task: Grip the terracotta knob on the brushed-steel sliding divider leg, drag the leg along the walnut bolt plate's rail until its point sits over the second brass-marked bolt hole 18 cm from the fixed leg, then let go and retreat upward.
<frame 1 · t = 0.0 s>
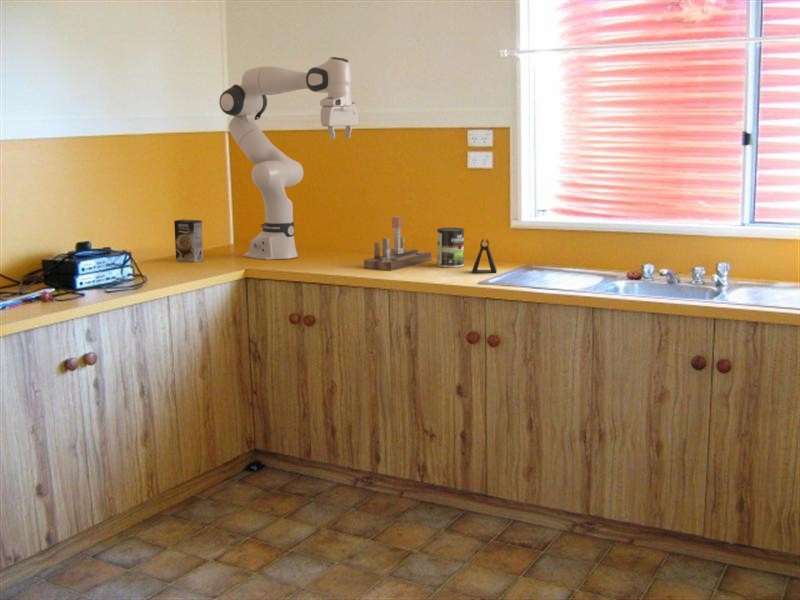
hand: (340, 138, 374), 48 cm above the worktop, fingers open, 8 cm apart
black clip stand: (484, 272, 362), on the worktop
coffee box: (189, 261, 391), on the worktop
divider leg: (397, 235, 378), point 11 cm above the worktop, slide at 0.0 cm
coffee can: (450, 266, 377), on the worktop
bolt plate: (398, 263, 381), on the worktop
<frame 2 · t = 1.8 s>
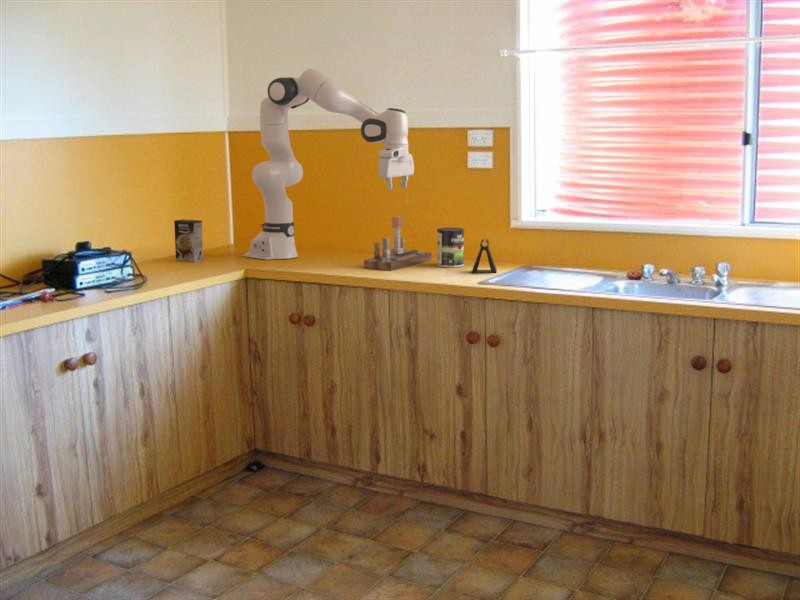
hand: (397, 188, 374), 29 cm above the worktop, fingers open, 8 cm apart
nothing on the worktop moved.
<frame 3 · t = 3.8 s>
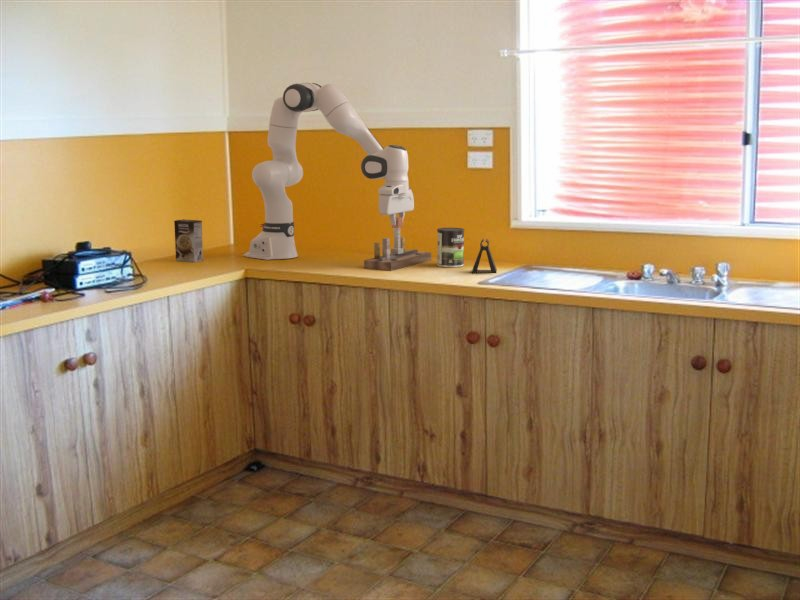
hand: (397, 224, 377), 15 cm above the worktop, fingers closed on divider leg, 3 cm apart
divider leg: (397, 235, 378), point 11 cm above the worktop, slide at 0.0 cm, touching gripper
everything else where it was.
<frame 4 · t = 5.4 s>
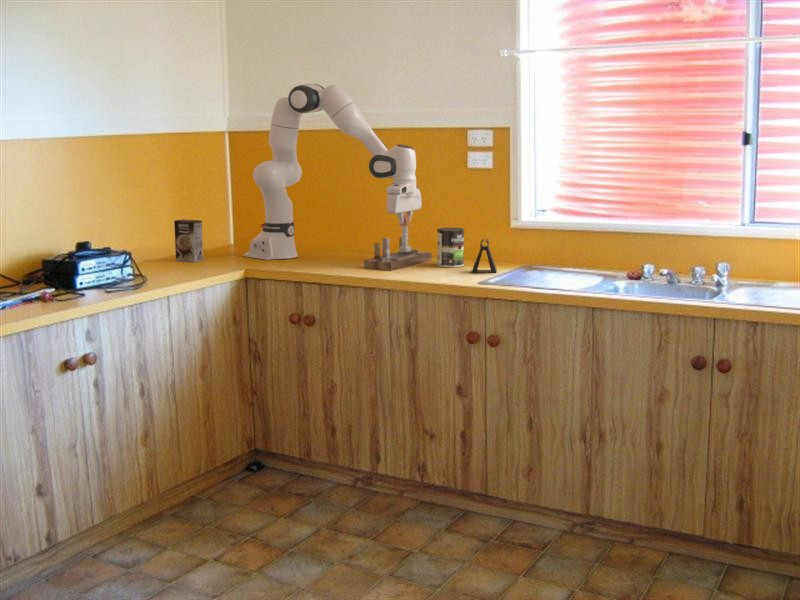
hand: (404, 223, 382), 15 cm above the worktop, fingers closed on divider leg, 3 cm apart
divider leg: (404, 233, 382), point 11 cm above the worktop, slide at 5.7 cm, touching gripper
everything else where it was.
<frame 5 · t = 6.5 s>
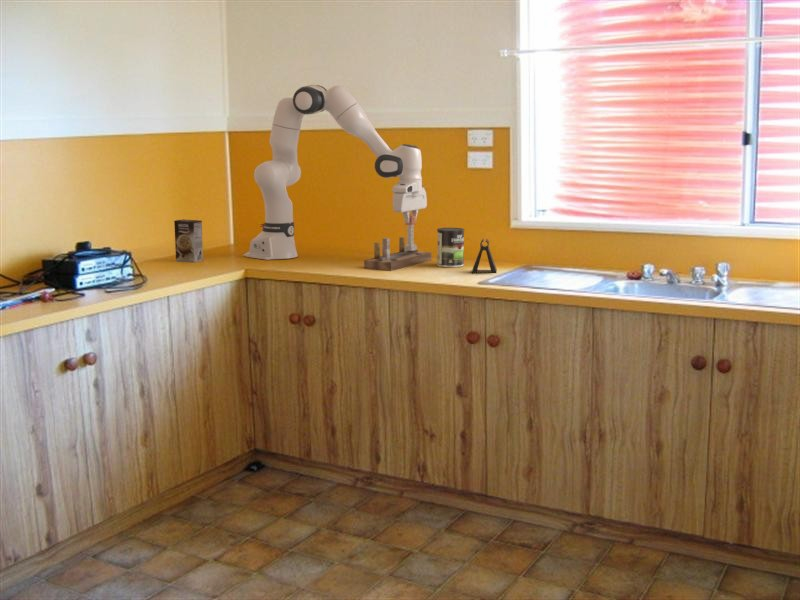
hand: (410, 222, 385), 15 cm above the worktop, fingers closed on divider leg, 3 cm apart
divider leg: (410, 232, 386), point 11 cm above the worktop, slide at 9.9 cm, touching gripper
everything else where it was.
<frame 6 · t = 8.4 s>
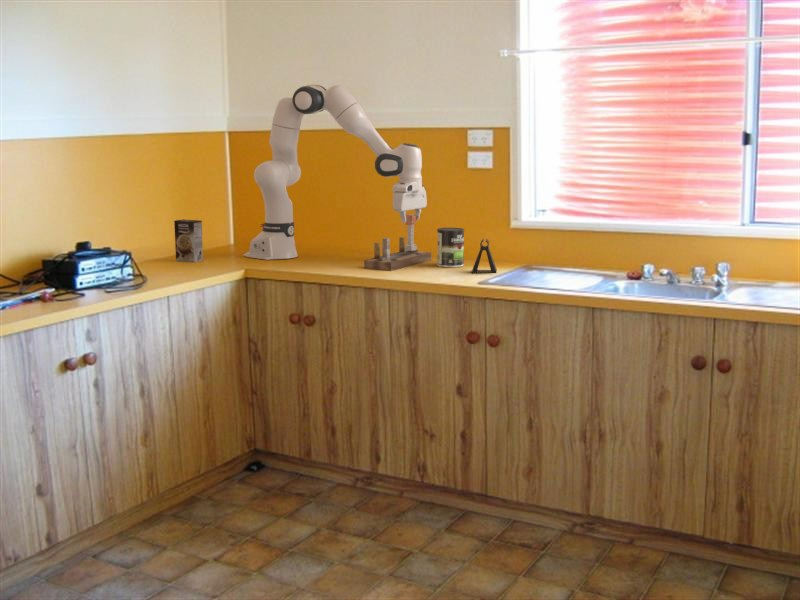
hand: (410, 221, 385), 16 cm above the worktop, fingers open, 8 cm apart
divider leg: (410, 232, 386), point 11 cm above the worktop, slide at 10.0 cm
everything else where it was.
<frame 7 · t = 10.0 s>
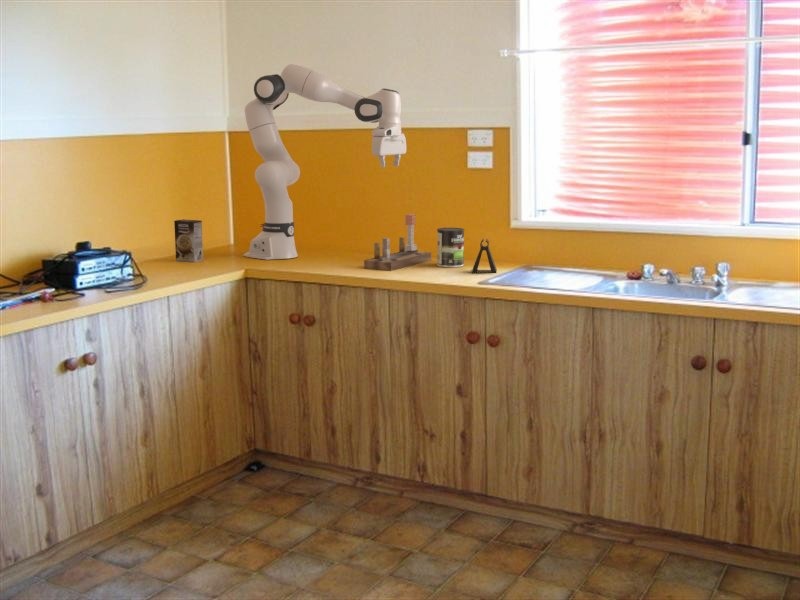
hand: (389, 166, 388), 37 cm above the worktop, fingers open, 8 cm apart
nothing on the worktop moved.
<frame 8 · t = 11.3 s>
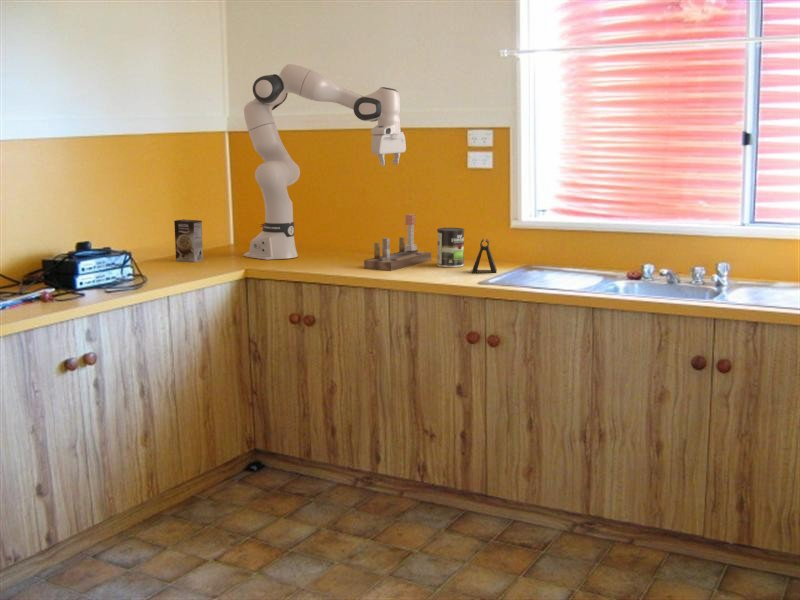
hand: (389, 165, 388), 37 cm above the worktop, fingers open, 8 cm apart
nothing on the worktop moved.
at the end: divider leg slide at 10.0 cm; the gripper is holding nothing; coffee can moved 0.2 cm from its start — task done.
